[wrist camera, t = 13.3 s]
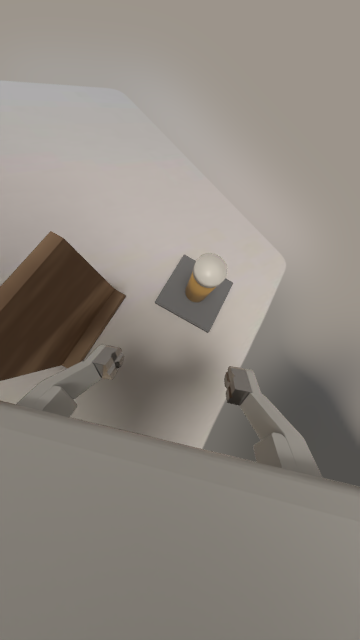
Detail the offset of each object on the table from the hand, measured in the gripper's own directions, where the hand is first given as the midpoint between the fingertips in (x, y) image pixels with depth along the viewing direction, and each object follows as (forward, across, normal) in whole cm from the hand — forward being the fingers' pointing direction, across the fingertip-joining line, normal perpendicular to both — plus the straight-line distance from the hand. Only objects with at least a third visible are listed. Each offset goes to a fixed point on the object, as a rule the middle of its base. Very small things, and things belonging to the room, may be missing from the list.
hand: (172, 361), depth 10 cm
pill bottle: (+17, -1, +1) cm, 17 cm away
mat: (+17, -1, +2) cm, 17 cm away
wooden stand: (+8, +16, +5) cm, 19 cm away
